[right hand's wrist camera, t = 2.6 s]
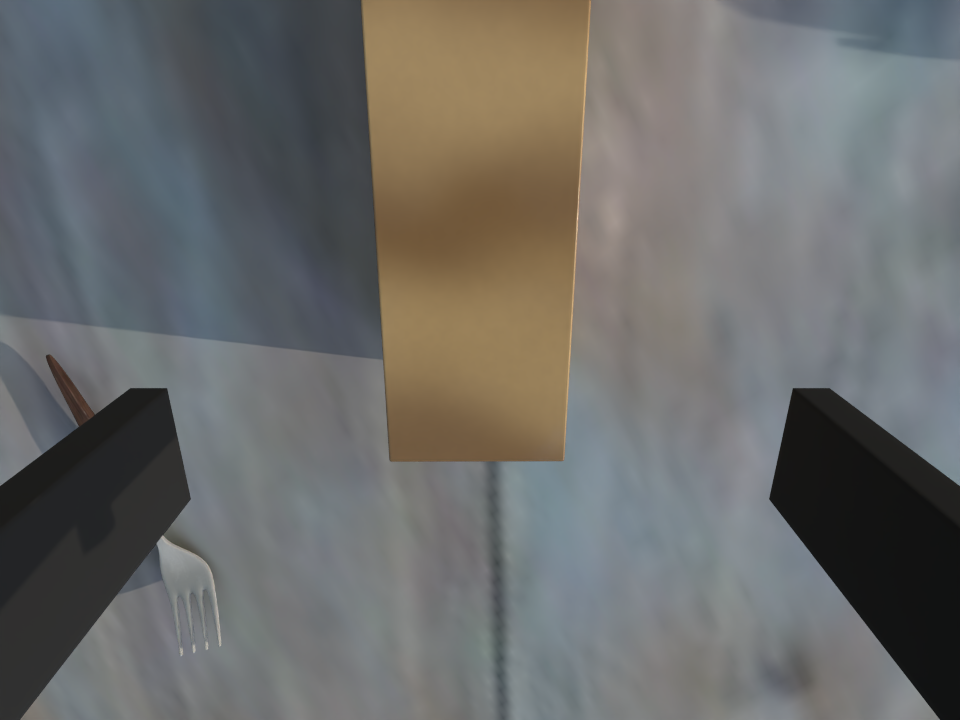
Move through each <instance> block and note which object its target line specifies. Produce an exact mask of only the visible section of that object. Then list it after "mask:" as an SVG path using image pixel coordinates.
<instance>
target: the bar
mask: <svg viewBox="0 0 960 720" xmlns="http://www.w3.org/2000/svg"><path fill="white" fill-rule="evenodd" d="M590 8H591V0H361V15H362V31H363V46H364V62H365V78H366V94H367V110H368V126H369V142H370V158H371V174H372V190H373V206H374V221H375V237H376V253H377V269H378V285H379V301H380V317H381V333H382V349H383V365H384V381H385V396H386V412H387V428H388V444H389V460H390V461H391V462H392V461H564V455H565V437H566V420H567V403H568V386H569V369H570V351H571V334H572V317H573V300H574V283H575V265H576V248H577V231H578V214H579V197H580V180H581V162H582V145H583V128H584V111H585V94H586V76H587V59H588V42H589V25H590Z"/></svg>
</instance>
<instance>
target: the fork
mask: <svg viewBox="0 0 960 720" xmlns="http://www.w3.org/2000/svg"><path fill="white" fill-rule="evenodd" d="M46 359H47V362H48V364H49V367H50V369H51V371H52V373H53V376H54V378H55V380H56V382H57V384H58V386H59V388H60V390H61V392H62V394H63V396H64V398H65V400H66V402H67V404H68V406H69V408H70V410H71V411H72V413H73V415H74V417H75V419H76V421H77V423H78V425H79V427H80V426H81V425H82V424H84V423H85V422H86V421H88V420H89V419H90V418H92V417H93V416H94V415H95V414H94V413H93V411H92V410H91V409H90V407H89V406H88V404H87V403H86V401H85V400H84V398H83V397H82V396H81V394H80V393H79V391H78V390H77V388H76V387H75V385H74V384H73V382H72V381H71V380H70V378H69V377H68V375H67V374H66V373H65V371H64V370H63V369H62V367H61V366H60V365H59V364H58V362H57V361H56V360H55V359H54V358H53V357H52V356H51V355H46ZM156 544H157V546H158V550H159V560H160V569H161V574H162V578H163V582H164V585H165V588H166V591H167V594H168V597H169V600H170V603H171V608H172V612H173V617H174V622H175V628H176V633H177V639H178V645H179V654H180V656H182V655H183V650H182V637H181V625H180V616H179V607H178V597H179V596H180V597H181V598H182V600H183V603H184V606H185V611H186V616H187V621H188V626H189V632H190V637H191V643H192V651H193V653H195V637H194V626H193V616H192V608H191V593H193V594H194V595H195V597H196V601H197V605H198V609H199V614H200V619H201V624H202V630H203V635H204V641H205V648H206V650H207V649H208V637H207V625H206V616H205V607H204V598H203V592H204V590H206V591H207V592H208V595H209V599H210V603H211V607H212V612H213V617H214V622H215V627H216V633H217V639H218V646H219V647H220V646H221V635H220V624H219V614H218V606H217V599H216V592H215V586H214V580H213V575H212V572H211V570H210V567H209V566H208V564H207V563H206V562H205V561H204V560H203V559H202V558H201V557H199V556H198V555H196V554H194V553H192V552H190V551H188V550H186V549H184V548H181V547H179V546H177V545H175V544H173V543H171V542H170V541H168V540H167V539H166V538H165V537H164V536H162V537H161V538H160V540H159V541H158V542H157V543H156Z"/></svg>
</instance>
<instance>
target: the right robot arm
mask: <svg viewBox="0 0 960 720" xmlns="http://www.w3.org/2000/svg"><path fill="white" fill-rule="evenodd" d="M190 499H191V498H190V493H189V489H188V484H187V479H186V475H185V470H184V465H183V461H182V456H181V451H180V447H179V442H178V437H177V433H176V428H175V423H174V419H173V414H172V409H171V405H170V400H169V395H168V391H167V388H130V389H129V390H128V391H126V392H125V393H124V394H122V395H121V396H120V397H118V398H117V399H116V400H114V401H113V402H112V403H110V404H109V405H108V406H106V407H105V408H104V409H102V410H101V411H100V412H98V413H97V414H96V415H94V416H93V417H92V418H90V419H89V420H88V421H86V422H85V423H84V424H82V425H81V426H80V427H78V428H77V429H76V430H74V431H73V432H72V433H70V434H69V435H68V436H66V437H65V438H64V439H62V440H61V441H60V442H58V443H57V444H56V445H54V446H53V447H52V448H50V449H49V450H48V451H46V452H45V453H44V454H42V455H41V456H40V457H38V458H37V459H36V460H34V461H33V462H32V463H30V464H29V465H28V466H26V467H25V468H24V469H22V470H21V471H20V472H18V473H17V474H16V475H14V476H13V477H12V478H10V479H9V480H8V481H6V482H5V483H4V484H2V485H1V486H0V720H20V719H21V718H22V716H23V715H24V714H25V712H26V711H27V710H28V709H29V707H30V706H31V705H32V703H33V702H34V701H35V700H36V698H37V697H38V696H39V694H40V693H41V692H42V690H43V689H44V688H45V687H46V685H47V684H48V683H49V681H50V680H51V679H52V678H53V676H54V675H55V674H56V672H57V671H58V670H59V669H60V667H61V666H62V665H63V663H64V662H65V661H66V660H67V658H68V657H69V656H70V654H71V653H72V652H73V650H74V649H75V648H76V647H77V645H78V644H79V643H80V641H81V640H82V639H83V638H84V636H85V635H86V634H87V632H88V631H89V630H90V629H91V627H92V626H93V625H94V623H95V622H96V621H97V620H98V618H99V617H100V616H101V614H102V613H103V612H104V610H105V609H106V608H107V607H108V605H109V604H110V603H111V601H112V600H113V599H114V598H115V596H116V595H117V594H118V592H119V591H120V590H121V589H122V587H123V586H124V585H125V583H126V582H127V581H128V580H129V578H130V577H131V576H132V574H133V573H134V572H135V570H136V569H137V568H138V567H139V565H140V564H141V563H142V561H143V560H144V559H145V558H146V556H147V555H148V554H149V552H150V551H151V550H152V549H153V547H154V546H155V545H156V543H157V542H158V541H159V540H160V538H161V537H162V536H163V534H164V533H165V532H166V530H167V529H168V528H169V527H170V525H171V524H172V523H173V521H174V520H175V519H176V518H177V516H178V515H179V514H180V512H181V511H182V510H183V509H184V507H185V506H186V505H187V503H188V502H189V501H190ZM769 499H770V501H771V502H772V503H773V505H774V506H775V507H776V509H777V510H778V511H779V512H780V514H781V515H782V516H783V518H784V519H785V520H786V521H787V523H788V524H789V525H790V527H791V528H792V529H793V530H794V532H795V533H796V534H797V536H798V537H799V538H800V540H801V541H802V542H803V543H804V545H805V546H806V547H807V549H808V550H809V551H810V552H811V554H812V555H813V556H814V558H815V559H816V560H817V561H818V563H819V564H820V565H821V567H822V568H823V569H824V570H825V572H826V573H827V574H828V576H829V577H830V578H831V580H832V581H833V582H834V583H835V585H836V586H837V587H838V589H839V590H840V591H841V592H842V594H843V595H844V596H845V598H846V599H847V600H848V601H849V603H850V604H851V605H852V607H853V608H854V609H855V610H856V612H857V613H858V614H859V616H860V617H861V618H862V620H863V621H864V622H865V623H866V625H867V626H868V627H869V629H870V630H871V631H872V632H873V634H874V635H875V636H876V638H877V639H878V640H879V641H880V643H881V644H882V645H883V647H884V648H885V649H886V650H887V652H888V653H889V654H890V656H891V657H892V658H893V660H894V661H895V662H896V663H897V665H898V666H899V667H900V669H901V670H902V671H903V672H904V674H905V675H906V676H907V678H908V679H909V680H910V681H911V683H912V684H913V685H914V687H915V688H916V689H917V690H918V692H919V693H920V694H921V696H922V697H923V698H924V700H925V701H926V702H927V703H928V705H929V706H930V707H931V709H932V710H933V711H934V712H935V714H936V715H937V716H938V718H939V719H940V720H960V486H959V485H958V484H956V483H955V482H954V481H952V480H951V479H950V478H948V477H947V476H946V475H944V474H943V473H942V472H940V471H939V470H938V469H936V468H935V467H934V466H932V465H931V464H930V463H928V462H927V461H926V460H924V459H923V458H922V457H920V456H919V455H918V454H916V453H915V452H914V451H912V450H911V449H910V448H908V447H907V446H906V445H904V444H903V443H902V442H900V441H899V440H898V439H896V438H895V437H894V436H892V435H891V434H890V433H888V432H887V431H886V430H884V429H883V428H882V427H880V426H879V425H878V424H876V423H875V422H874V421H872V420H871V419H870V418H868V417H867V416H866V415H864V414H863V413H862V412H860V411H859V410H858V409H856V408H855V407H854V406H852V405H851V404H850V403H848V402H847V401H846V400H844V399H843V398H842V397H840V396H839V395H838V394H836V393H835V392H834V391H832V390H831V389H830V388H793V391H792V395H791V400H790V405H789V409H788V414H787V419H786V423H785V428H784V433H783V437H782V442H781V447H780V451H779V456H778V461H777V465H776V470H775V475H774V479H773V484H772V489H771V493H770V498H769Z"/></svg>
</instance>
